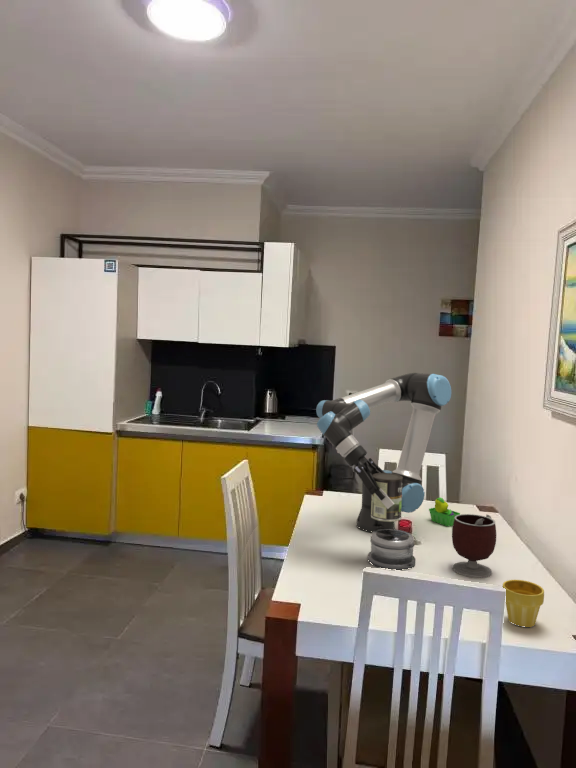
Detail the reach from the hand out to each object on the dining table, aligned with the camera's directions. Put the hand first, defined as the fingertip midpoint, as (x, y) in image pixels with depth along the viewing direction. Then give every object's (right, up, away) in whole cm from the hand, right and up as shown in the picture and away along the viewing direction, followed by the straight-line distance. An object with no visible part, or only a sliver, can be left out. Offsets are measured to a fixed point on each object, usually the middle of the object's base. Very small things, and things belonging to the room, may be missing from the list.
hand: (395, 502), depth 196 cm
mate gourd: (+25, -22, -3) cm, 33 cm away
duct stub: (-1, -21, +3) cm, 21 cm away
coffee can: (-3, -6, +2) cm, 6 cm away
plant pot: (+27, -25, -39) cm, 53 cm away
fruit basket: (+29, -19, +50) cm, 60 cm away
